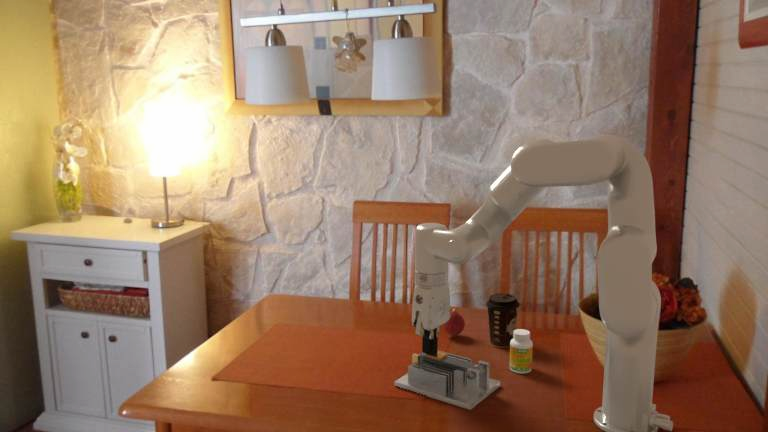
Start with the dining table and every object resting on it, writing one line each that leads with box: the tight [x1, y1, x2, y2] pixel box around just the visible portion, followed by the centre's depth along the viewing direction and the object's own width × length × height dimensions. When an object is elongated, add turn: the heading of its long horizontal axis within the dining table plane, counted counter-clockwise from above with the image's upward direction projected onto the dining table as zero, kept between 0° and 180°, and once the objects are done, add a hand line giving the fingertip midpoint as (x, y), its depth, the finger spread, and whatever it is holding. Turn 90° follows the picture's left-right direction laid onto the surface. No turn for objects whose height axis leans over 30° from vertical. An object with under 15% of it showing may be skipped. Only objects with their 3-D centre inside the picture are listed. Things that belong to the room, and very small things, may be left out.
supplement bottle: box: [509, 328, 534, 375], centre depth 167 cm, size 5×5×10 cm
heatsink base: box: [394, 349, 501, 411], centre depth 159 cm, size 20×14×7 cm
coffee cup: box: [485, 293, 521, 349], centre depth 182 cm, size 9×8×13 cm
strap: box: [419, 350, 486, 376], centre depth 158 cm, size 16×3×2 cm, turn 54°
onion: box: [443, 308, 466, 338], centre depth 188 cm, size 6×6×8 cm
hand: (429, 352), depth 161 cm, fingers closed
